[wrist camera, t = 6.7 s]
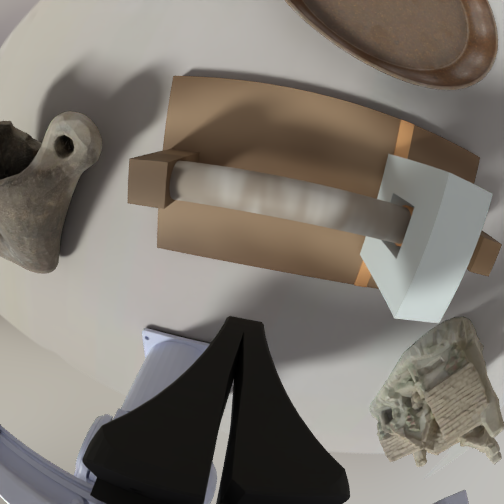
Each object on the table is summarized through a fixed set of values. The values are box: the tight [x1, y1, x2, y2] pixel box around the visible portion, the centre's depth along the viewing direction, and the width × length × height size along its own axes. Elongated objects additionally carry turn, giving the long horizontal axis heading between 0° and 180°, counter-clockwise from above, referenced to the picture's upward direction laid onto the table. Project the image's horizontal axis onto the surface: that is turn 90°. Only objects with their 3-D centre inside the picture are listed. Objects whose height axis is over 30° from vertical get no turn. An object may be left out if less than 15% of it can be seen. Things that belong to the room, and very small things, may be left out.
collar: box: [360, 154, 493, 323], centre depth 13 cm, size 7×3×7 cm, turn 171°
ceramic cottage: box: [369, 317, 504, 467], centre depth 19 cm, size 16×16×15 cm
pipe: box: [0, 111, 102, 273], centre depth 16 cm, size 16×9×15 cm
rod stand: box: [128, 76, 502, 289], centre depth 15 cm, size 12×22×6 cm, turn 81°
